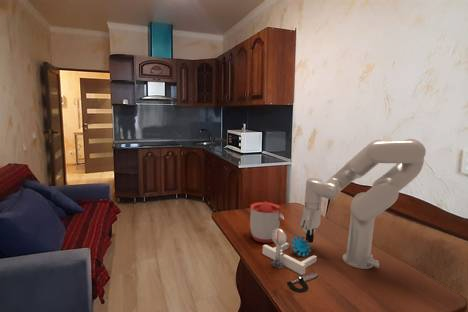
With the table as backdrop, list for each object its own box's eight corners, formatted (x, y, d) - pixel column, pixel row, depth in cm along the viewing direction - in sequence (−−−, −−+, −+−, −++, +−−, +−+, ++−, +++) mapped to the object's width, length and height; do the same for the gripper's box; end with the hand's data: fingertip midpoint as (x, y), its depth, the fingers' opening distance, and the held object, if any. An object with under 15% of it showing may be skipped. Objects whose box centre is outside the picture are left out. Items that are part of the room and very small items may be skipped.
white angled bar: (321, 264, 124) (322, 255, 123) (302, 275, 115) (302, 265, 114) (281, 245, 140) (282, 237, 140) (262, 253, 131) (262, 245, 131)
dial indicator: (290, 265, 122) (292, 229, 119) (281, 270, 118) (283, 232, 115) (277, 259, 127) (280, 224, 124) (268, 263, 123) (270, 227, 120)
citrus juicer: (281, 247, 138) (284, 208, 135) (246, 243, 141) (248, 204, 138) (283, 234, 153) (285, 198, 150) (251, 230, 156) (252, 195, 153)
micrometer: (297, 295, 103) (297, 289, 102) (285, 284, 109) (285, 278, 109) (327, 285, 109) (328, 279, 109) (314, 275, 116) (315, 270, 115)
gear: (295, 256, 127) (290, 234, 133) (288, 260, 131) (284, 238, 137) (316, 256, 130) (310, 235, 136) (309, 260, 135) (303, 239, 141)
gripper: (314, 200, 141) (311, 234, 144) (296, 205, 131) (293, 242, 134) (328, 204, 135) (324, 240, 138) (310, 210, 126) (306, 249, 129)
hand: (309, 241), depth 136 cm, fingers closed
